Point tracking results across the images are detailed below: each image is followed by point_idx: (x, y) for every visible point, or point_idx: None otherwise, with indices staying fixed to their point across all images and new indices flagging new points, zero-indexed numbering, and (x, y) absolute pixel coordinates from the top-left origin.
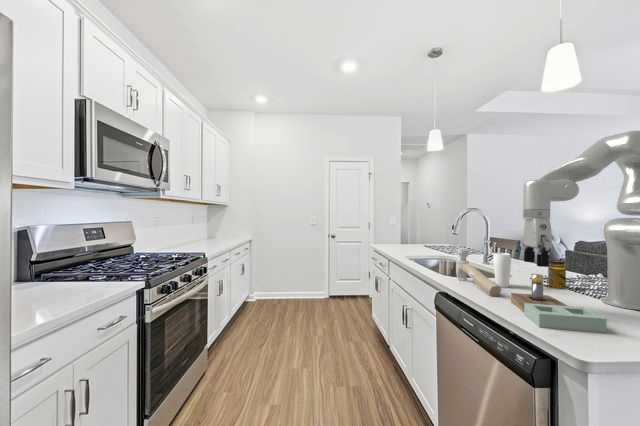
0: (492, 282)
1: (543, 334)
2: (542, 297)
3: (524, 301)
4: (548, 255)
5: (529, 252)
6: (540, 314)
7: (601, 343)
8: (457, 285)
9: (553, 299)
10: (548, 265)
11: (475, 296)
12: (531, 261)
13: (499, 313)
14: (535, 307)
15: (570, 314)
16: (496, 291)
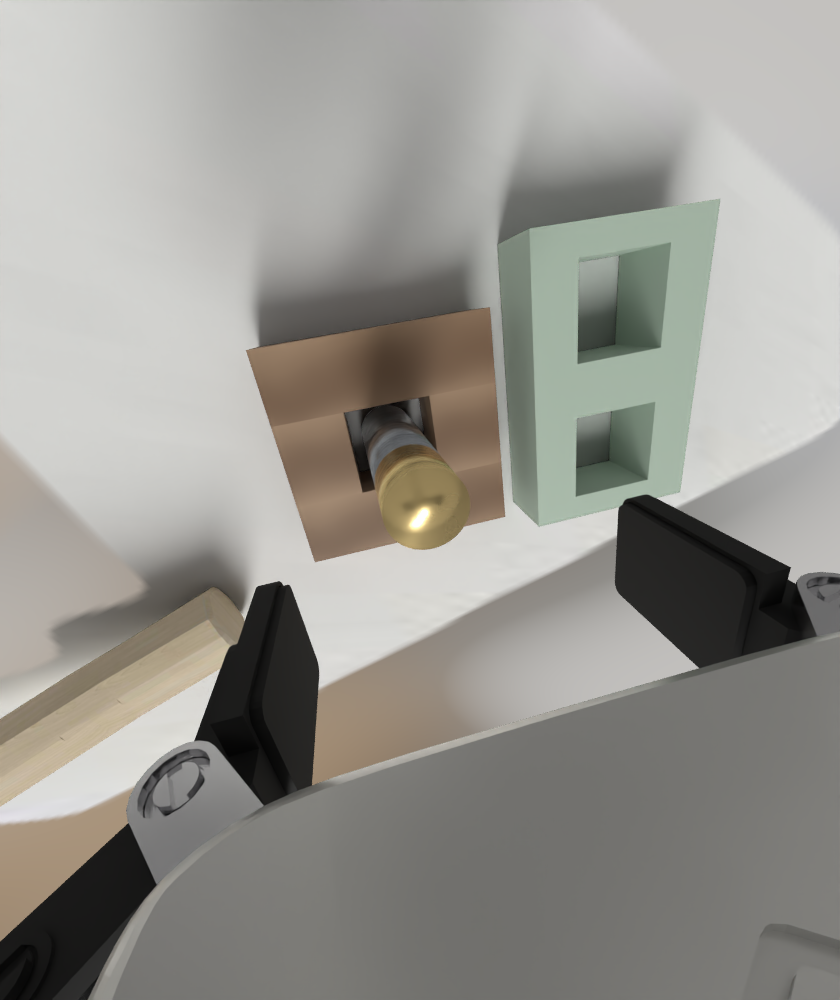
0: (161, 664)
1: (698, 472)
2: (418, 428)
3: (477, 516)
4: (781, 568)
5: (293, 753)
6: (678, 486)
7: (756, 303)
8: (81, 759)
9: (360, 350)
10: (653, 499)
11: None
12: (299, 613)
13: (519, 581)
14: (599, 491)
15: (675, 364)
16: (225, 612)
